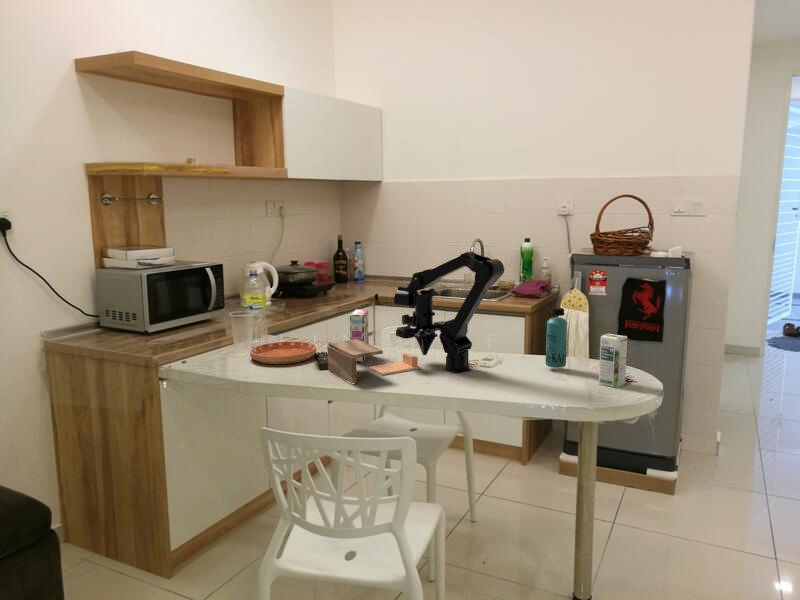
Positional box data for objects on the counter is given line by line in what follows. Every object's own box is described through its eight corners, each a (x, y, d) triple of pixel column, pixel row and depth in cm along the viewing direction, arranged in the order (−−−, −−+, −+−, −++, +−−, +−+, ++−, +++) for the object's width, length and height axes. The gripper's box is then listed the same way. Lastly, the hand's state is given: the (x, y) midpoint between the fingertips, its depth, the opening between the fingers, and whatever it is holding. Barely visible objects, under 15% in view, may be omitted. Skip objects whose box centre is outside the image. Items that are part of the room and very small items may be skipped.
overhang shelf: (357, 365, 207) (356, 339, 206) (383, 378, 192) (382, 350, 191) (328, 370, 202) (327, 343, 201) (352, 384, 187) (351, 355, 185)
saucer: (237, 359, 219) (236, 349, 218) (289, 347, 236) (289, 337, 235) (277, 371, 204) (276, 360, 203) (330, 356, 220) (329, 346, 220)
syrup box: (597, 384, 183) (599, 335, 181) (607, 379, 187) (609, 332, 185) (616, 388, 179) (618, 338, 177) (625, 383, 183) (628, 335, 181)
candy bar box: (365, 362, 211) (363, 315, 208) (350, 362, 212) (348, 315, 209) (369, 354, 222) (368, 309, 219) (355, 354, 222) (354, 308, 220)
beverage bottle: (548, 365, 203) (550, 305, 200) (569, 368, 200) (570, 307, 197) (542, 370, 198) (543, 308, 195) (563, 373, 195) (564, 310, 191)
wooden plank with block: (406, 364, 210) (405, 351, 210) (420, 370, 203) (419, 357, 202) (368, 370, 204) (368, 357, 203) (382, 377, 196) (381, 364, 195)
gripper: (434, 302, 217) (434, 346, 219) (387, 308, 208) (388, 353, 210) (452, 307, 207) (452, 353, 210) (404, 313, 198) (405, 361, 201)
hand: (424, 355), depth 208 cm, fingers closed
